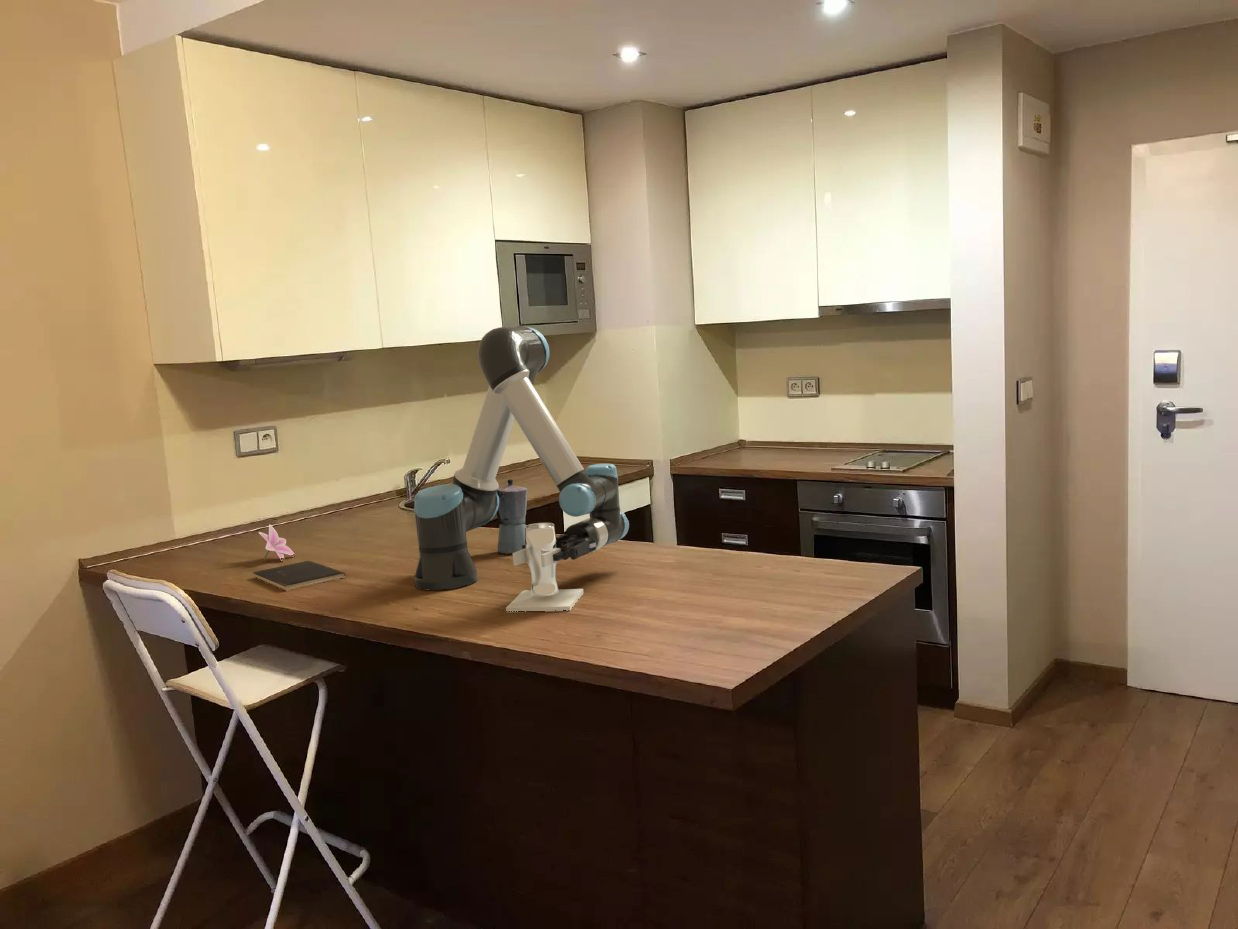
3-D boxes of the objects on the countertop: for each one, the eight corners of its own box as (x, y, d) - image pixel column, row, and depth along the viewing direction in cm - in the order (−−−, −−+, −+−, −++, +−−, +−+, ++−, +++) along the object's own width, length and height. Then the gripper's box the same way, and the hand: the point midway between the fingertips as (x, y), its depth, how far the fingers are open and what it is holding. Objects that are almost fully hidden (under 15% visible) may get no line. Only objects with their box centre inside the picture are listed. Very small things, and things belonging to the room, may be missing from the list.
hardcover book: (285, 594, 244) (284, 585, 243) (254, 580, 262) (253, 572, 261) (346, 580, 254) (345, 571, 253) (312, 568, 271) (311, 560, 271)
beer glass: (529, 590, 218) (523, 524, 216) (560, 587, 219) (554, 521, 217) (529, 598, 211) (522, 530, 209) (561, 595, 212) (555, 527, 210)
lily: (261, 571, 275) (275, 540, 274) (239, 551, 281) (252, 522, 281) (295, 574, 285) (308, 544, 284) (272, 555, 292) (285, 526, 291)
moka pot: (541, 545, 276) (535, 475, 273) (517, 558, 261) (511, 484, 259) (510, 545, 279) (504, 476, 276) (485, 558, 264) (478, 485, 262)
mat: (506, 612, 210) (505, 607, 210) (523, 594, 223) (523, 590, 223) (570, 610, 207) (569, 606, 207) (583, 593, 221) (583, 588, 221)
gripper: (622, 554, 225) (568, 580, 205) (551, 551, 235) (493, 574, 215) (620, 522, 224) (565, 545, 204) (548, 520, 234) (490, 541, 214)
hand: (528, 560), depth 210 cm, fingers closed on beer glass, 7 cm apart
